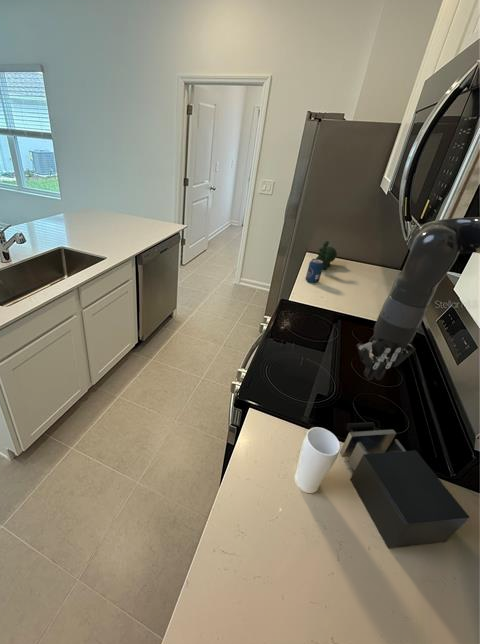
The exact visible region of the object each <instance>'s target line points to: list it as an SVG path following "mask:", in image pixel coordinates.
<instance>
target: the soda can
mask: <svg viewBox="0 0 480 644" xmlns="http://www.w3.org/2000/svg"><path fill="white" fill-rule="evenodd" d="M322 269H323V261H322V260H319V259H316V258H313V259H311V260H310V262H309V263H308V268H307V271H306V276H305V281H306V283H308V284H311V285H316V284H317V283H319V282H320V279H321V275H322V272H323V270H322Z"/></svg>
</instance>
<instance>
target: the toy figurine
mask: <svg viewBox="0 0 480 644" xmlns="http://www.w3.org/2000/svg"><path fill="white" fill-rule="evenodd" d="M329 244H330V242H329V240H325V241H324V242H323V243H322V246H321V247H320V248H318V252H317V257H315V259H319V260H322V261H323V269H322V271H326V270H328V268H330V267H331V263H332V262H334V261H335V259H336V258H337V255H338V253H337V250H336V248H335V247H333V246H329Z"/></svg>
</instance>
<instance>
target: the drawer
mask: <svg viewBox="0 0 480 644" xmlns="http://www.w3.org/2000/svg"><path fill="white" fill-rule="evenodd" d="M345 429H346V430H347V431H349V432H348V434H347V436H346V438H345V441H344V442H343V444H342V447H341V448H340V451H339V454H340V457H342V458H345V457H349V458H348V463H349V465H350V467H351V469H352V470H353V472H354V471H355V469H356V467H357V466H358V464H359V462H360V460H361V458H362V457H363V454H374V453H388V452H401V451H407V450H406V449H405V447H404V446H403V445H402V443H401V442H400V441H399V439H398V438H397V439H396V438H395V437H396V436H397V432H396V431H395V430H394V429H393V428H392V429H377V428H376V423H375V422H373V421H368V422H367V421H365V422H350V423H345ZM361 430H362V431H361ZM394 438H395V439H394Z"/></svg>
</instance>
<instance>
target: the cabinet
mask: <svg viewBox="0 0 480 644" xmlns="http://www.w3.org/2000/svg"><path fill="white" fill-rule="evenodd" d="M349 480H350V482H351V484H352V486H353V488H354V490H355V491H356V493H357V495H358V497H359V498H360V501H361V502H362V504H363V507H364V508H365V509H366V511H367V514H368V515H369V517H370V519H371V520H372V522H373V524H374V526H375V528H376V530H377V531H378V533H379V535H380V537H381V539H382V540H383V542H384V544H385V546H386V547H387V550H389V549H398V548H407V547H417V546H425V545H434V544H443V543H447V542H448V541H449V540H450V538H451V537H452V536H453V535H454V534H456V532H457V531H458V530H459V529H460V528H461V527H462V526H463V525H464V524H465V523H466V522H467V521H468V520H469V519H470V516H469V515H468V513H467V512H466V511H465V509H464V508H463V507H462V506H461V504H460V502H458V501H457V499H456V498H455V497H454V495H452V493H451V492H450V491H449V489H447V487H446V486H445V485H444V484H443V482H442V481H441V480H440V479H439V477H438V476H437V474H435V472H434V471H433V470H432V469H431V467H430V466H429V464H427V461H425V460H424V459H423V458H422V456H421V455H420V453H419V452H418V451H417V450H415V449H414V450H406V451H401V452H388V453H387V452H385V453H374V454H363V457H362V458H361V460H360V462H359V464H358V466H357V467H356V469H355V471H354V470H353V473H352V475H351V477H350V478H349Z"/></svg>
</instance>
